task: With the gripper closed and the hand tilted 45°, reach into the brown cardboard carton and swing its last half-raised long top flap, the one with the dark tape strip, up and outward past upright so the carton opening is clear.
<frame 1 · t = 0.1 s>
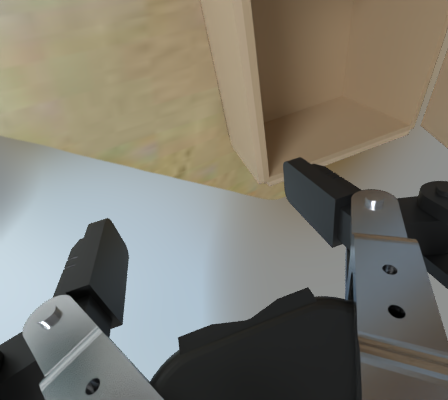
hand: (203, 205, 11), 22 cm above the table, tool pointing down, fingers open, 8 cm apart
shipping carton: (284, 25, 28), on the table
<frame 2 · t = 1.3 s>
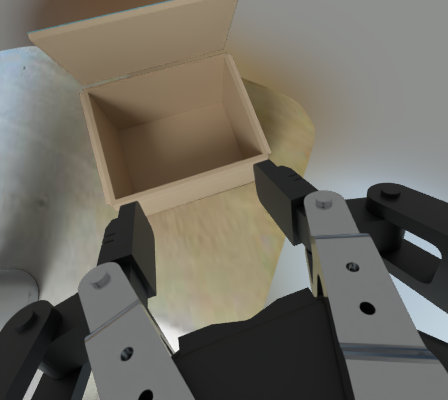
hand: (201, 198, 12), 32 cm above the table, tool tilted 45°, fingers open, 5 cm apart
shipping carton: (184, 155, 46), on the table
carton flap: (148, 42, 30), point 18 cm above the table, hinge at 70.0°
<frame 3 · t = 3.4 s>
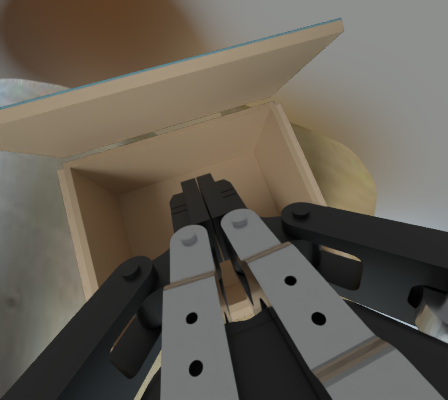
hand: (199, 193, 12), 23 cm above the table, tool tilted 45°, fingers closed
shipping carton: (205, 228, 34), on the table
carton flap: (165, 106, 18), point 18 cm above the table, hinge at 70.0°
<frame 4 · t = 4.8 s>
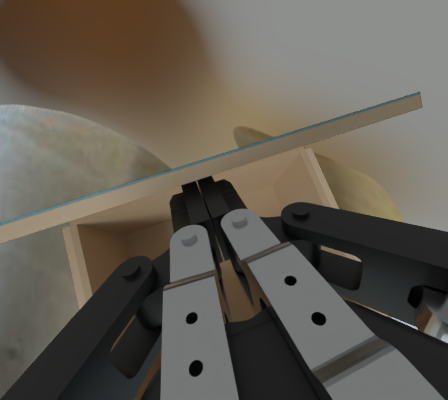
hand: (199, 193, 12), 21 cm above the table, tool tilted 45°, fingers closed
shipping carton: (221, 270, 32), on the table
carton flap: (190, 172, 16), point 18 cm above the table, hinge at 70.0°, touching gripper
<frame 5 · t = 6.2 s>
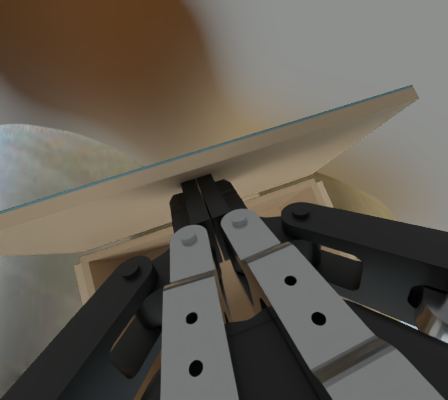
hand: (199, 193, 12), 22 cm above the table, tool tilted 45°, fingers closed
shipping carton: (228, 292, 32), on the table
carton flap: (196, 193, 16), point 18 cm above the table, hinge at 88.7°, touching gripper
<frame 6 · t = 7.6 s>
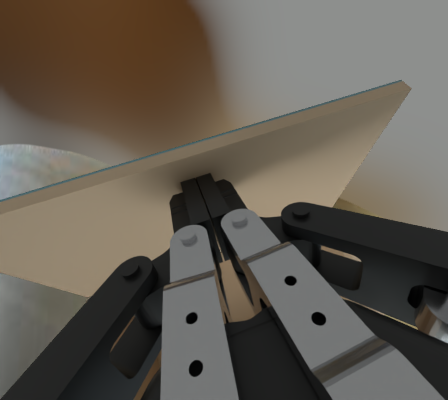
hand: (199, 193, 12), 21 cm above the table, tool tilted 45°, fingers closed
shipping carton: (238, 322, 31), on the table
carton flap: (204, 216, 15), point 18 cm above the table, hinge at 109.3°, touching gripper
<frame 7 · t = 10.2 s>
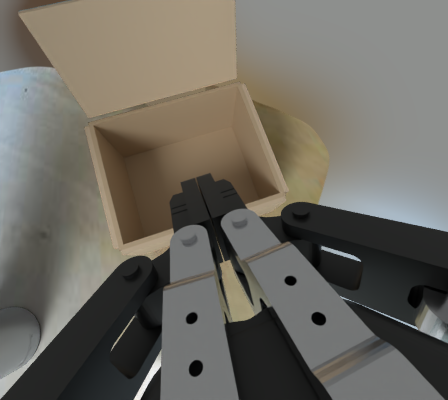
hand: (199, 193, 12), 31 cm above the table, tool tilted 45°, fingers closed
shipping carton: (192, 183, 44), on the table
carton flap: (151, 51, 29), point 18 cm above the table, hinge at 109.4°
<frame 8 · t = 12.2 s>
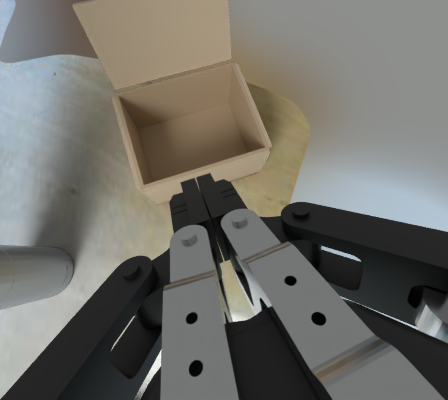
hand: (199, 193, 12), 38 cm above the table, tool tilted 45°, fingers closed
shipping carton: (196, 150, 53), on the table
carton flap: (164, 36, 38), point 18 cm above the table, hinge at 109.4°
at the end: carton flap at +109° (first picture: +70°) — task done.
